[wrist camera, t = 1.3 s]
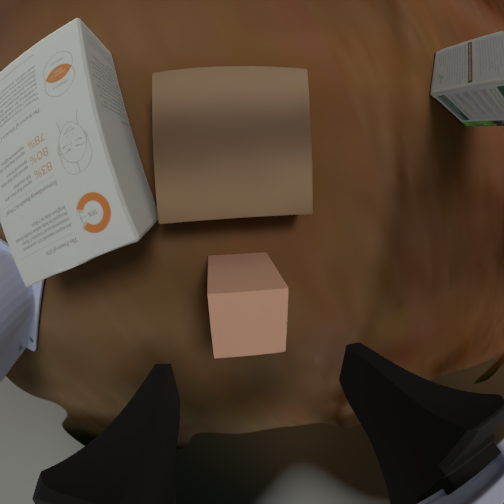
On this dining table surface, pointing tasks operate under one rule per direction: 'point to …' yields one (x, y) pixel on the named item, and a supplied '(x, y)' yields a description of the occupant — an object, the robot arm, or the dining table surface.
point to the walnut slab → (231, 143)
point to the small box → (68, 157)
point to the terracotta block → (246, 305)
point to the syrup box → (472, 80)
